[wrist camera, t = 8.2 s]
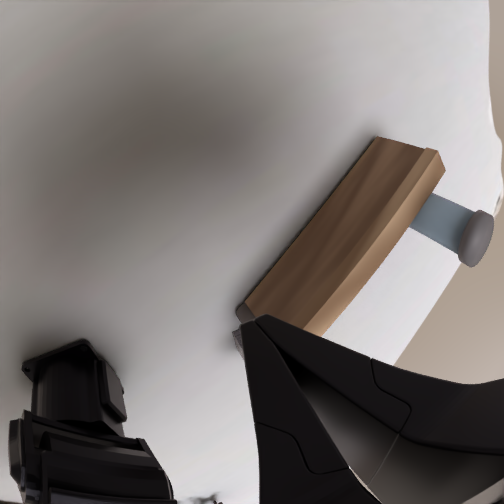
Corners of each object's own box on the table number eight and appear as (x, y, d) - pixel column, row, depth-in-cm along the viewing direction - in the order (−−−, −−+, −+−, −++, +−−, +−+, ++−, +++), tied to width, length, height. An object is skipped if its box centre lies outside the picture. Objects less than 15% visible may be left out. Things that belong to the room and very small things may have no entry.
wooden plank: (230, 314, 23) (266, 369, 19) (375, 133, 22) (437, 150, 17) (248, 323, 25) (285, 375, 20) (386, 151, 23) (445, 170, 18)
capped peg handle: (356, 213, 25) (463, 276, 16) (355, 172, 23) (474, 225, 14) (385, 201, 26) (487, 254, 17) (385, 162, 24) (497, 208, 15)
